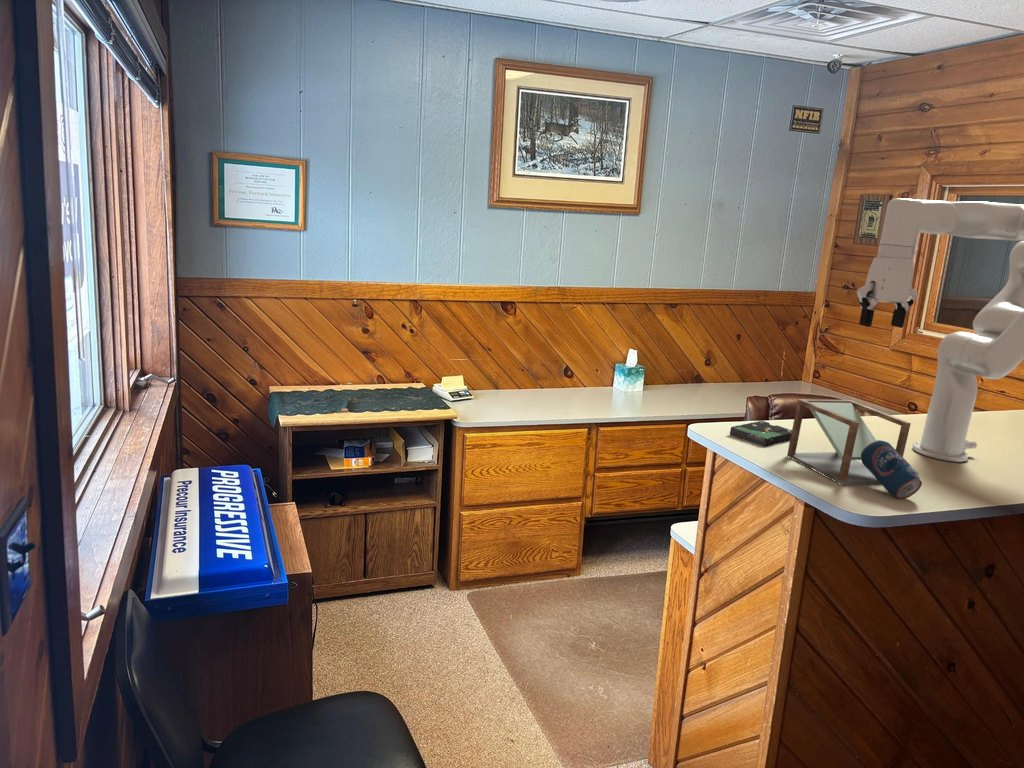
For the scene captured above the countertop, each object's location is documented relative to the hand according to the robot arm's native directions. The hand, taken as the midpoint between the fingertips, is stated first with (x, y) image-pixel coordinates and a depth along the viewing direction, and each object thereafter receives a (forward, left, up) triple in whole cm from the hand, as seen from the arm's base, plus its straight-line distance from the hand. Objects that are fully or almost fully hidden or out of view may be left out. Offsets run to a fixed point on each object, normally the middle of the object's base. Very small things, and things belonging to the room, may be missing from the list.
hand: (881, 326), depth 180 cm
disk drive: (+17, -13, -33) cm, 39 cm away
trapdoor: (+13, +9, -23) cm, 28 cm away
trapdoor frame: (+13, +10, -32) cm, 36 cm away
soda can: (+13, +18, -24) cm, 33 cm away
